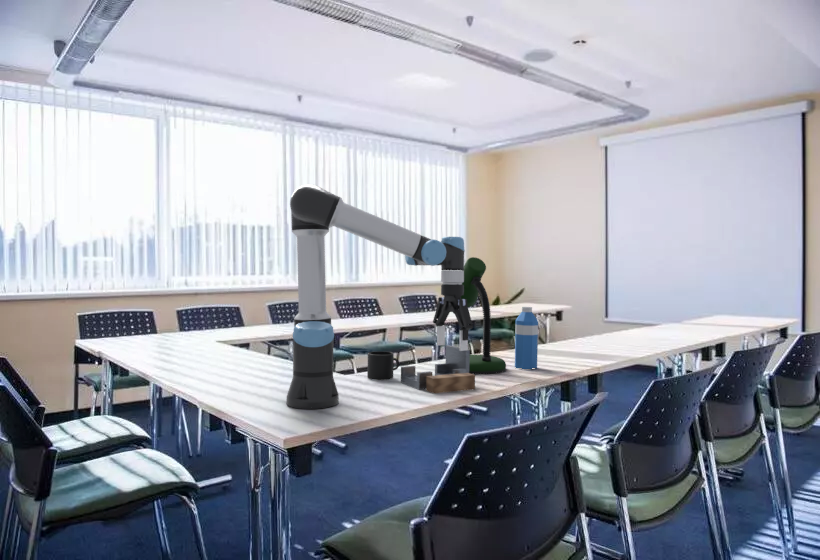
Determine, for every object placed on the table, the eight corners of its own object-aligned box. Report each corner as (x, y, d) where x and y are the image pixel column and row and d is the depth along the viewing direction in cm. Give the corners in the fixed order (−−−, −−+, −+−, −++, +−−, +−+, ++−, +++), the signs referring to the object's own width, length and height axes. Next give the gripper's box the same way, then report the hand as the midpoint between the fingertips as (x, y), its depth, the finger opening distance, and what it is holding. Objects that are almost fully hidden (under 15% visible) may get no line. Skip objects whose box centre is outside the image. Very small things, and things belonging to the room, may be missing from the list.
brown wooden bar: (432, 394, 179) (433, 378, 179) (426, 391, 183) (426, 376, 183) (474, 390, 186) (475, 375, 186) (467, 387, 190) (467, 372, 190)
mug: (403, 379, 202) (404, 354, 202) (372, 381, 197) (372, 355, 197) (394, 374, 211) (394, 350, 210) (364, 376, 206) (364, 351, 206)
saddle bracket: (419, 389, 184) (419, 373, 184) (400, 382, 195) (400, 366, 195) (432, 388, 186) (432, 372, 186) (413, 381, 198) (413, 365, 198)
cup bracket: (454, 386, 191) (455, 351, 191) (434, 379, 202) (435, 346, 202) (469, 384, 194) (469, 350, 194) (448, 377, 205) (449, 345, 205)
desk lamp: (430, 362, 237) (432, 257, 236) (476, 360, 246) (478, 258, 245) (465, 376, 209) (467, 256, 208) (516, 372, 218) (518, 257, 217)
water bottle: (510, 366, 232) (511, 306, 231) (530, 365, 234) (531, 306, 234) (521, 370, 223) (522, 307, 222) (541, 369, 226) (543, 307, 225)
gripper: (484, 284, 175) (483, 352, 175) (441, 282, 197) (441, 342, 197) (464, 284, 171) (463, 353, 172) (423, 282, 193) (423, 343, 194)
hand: (451, 347), depth 185 cm, fingers open, 13 cm apart
